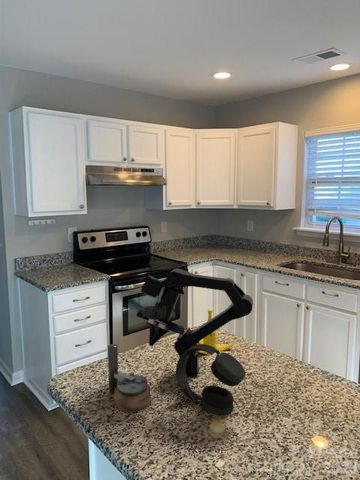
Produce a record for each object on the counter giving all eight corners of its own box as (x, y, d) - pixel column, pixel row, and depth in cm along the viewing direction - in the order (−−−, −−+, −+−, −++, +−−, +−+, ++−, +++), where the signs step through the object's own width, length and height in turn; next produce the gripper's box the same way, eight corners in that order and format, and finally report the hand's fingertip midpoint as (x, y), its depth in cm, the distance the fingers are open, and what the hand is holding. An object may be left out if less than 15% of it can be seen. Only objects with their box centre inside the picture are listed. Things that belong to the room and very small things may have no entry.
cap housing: (154, 394, 117) (154, 382, 116) (144, 413, 106) (144, 400, 105) (111, 389, 120) (111, 377, 119) (97, 408, 109) (97, 395, 108)
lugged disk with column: (153, 396, 113) (152, 349, 112) (134, 409, 106) (133, 360, 104) (120, 383, 121) (119, 340, 120) (100, 395, 114) (98, 349, 112)
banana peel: (236, 349, 151) (237, 310, 149) (196, 358, 143) (196, 317, 141) (216, 336, 166) (216, 300, 164) (178, 343, 158) (178, 306, 156)
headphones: (252, 362, 107) (195, 330, 115) (242, 374, 99) (182, 339, 108) (234, 412, 111) (180, 377, 120) (223, 426, 104) (167, 389, 113)
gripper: (135, 290, 129) (117, 332, 126) (174, 304, 117) (156, 351, 114) (153, 298, 137) (137, 338, 134) (192, 312, 125) (175, 356, 122)
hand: (150, 345), depth 126 cm, fingers closed
